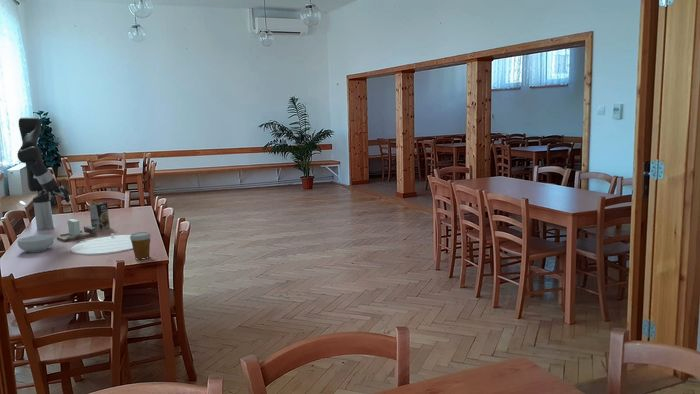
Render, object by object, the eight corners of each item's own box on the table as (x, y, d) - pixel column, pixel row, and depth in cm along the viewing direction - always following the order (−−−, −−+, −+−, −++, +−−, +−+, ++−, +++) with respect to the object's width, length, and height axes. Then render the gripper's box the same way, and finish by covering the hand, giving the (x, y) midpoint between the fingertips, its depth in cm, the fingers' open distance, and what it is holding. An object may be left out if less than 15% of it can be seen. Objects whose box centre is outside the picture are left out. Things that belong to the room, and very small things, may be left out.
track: (64, 242, 305) (63, 234, 305) (57, 239, 313) (56, 231, 312) (96, 235, 318) (96, 228, 318) (89, 233, 326) (88, 225, 325)
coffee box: (101, 231, 330) (97, 204, 327) (91, 231, 331) (88, 205, 328) (110, 227, 339) (107, 202, 336) (101, 227, 340) (98, 202, 337)
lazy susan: (74, 242, 306) (74, 236, 305) (148, 233, 320) (148, 227, 319) (67, 259, 269) (66, 253, 269) (151, 249, 283) (150, 242, 283)
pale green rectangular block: (75, 236, 310) (73, 221, 309) (69, 234, 316) (67, 219, 315) (80, 235, 313) (78, 220, 311) (74, 233, 319) (72, 219, 317)
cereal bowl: (62, 247, 294) (60, 234, 292) (36, 255, 278) (34, 242, 277) (38, 245, 299) (37, 233, 298) (11, 254, 284) (9, 240, 282)
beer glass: (135, 256, 269) (132, 232, 267) (155, 254, 270) (152, 231, 268) (129, 261, 260) (126, 237, 258) (149, 260, 261) (147, 235, 259)
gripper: (60, 173, 303) (76, 197, 311) (39, 178, 306) (55, 201, 315) (53, 181, 297) (69, 205, 305) (31, 185, 300) (48, 208, 309)
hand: (62, 203), depth 310 cm, fingers open, 8 cm apart
